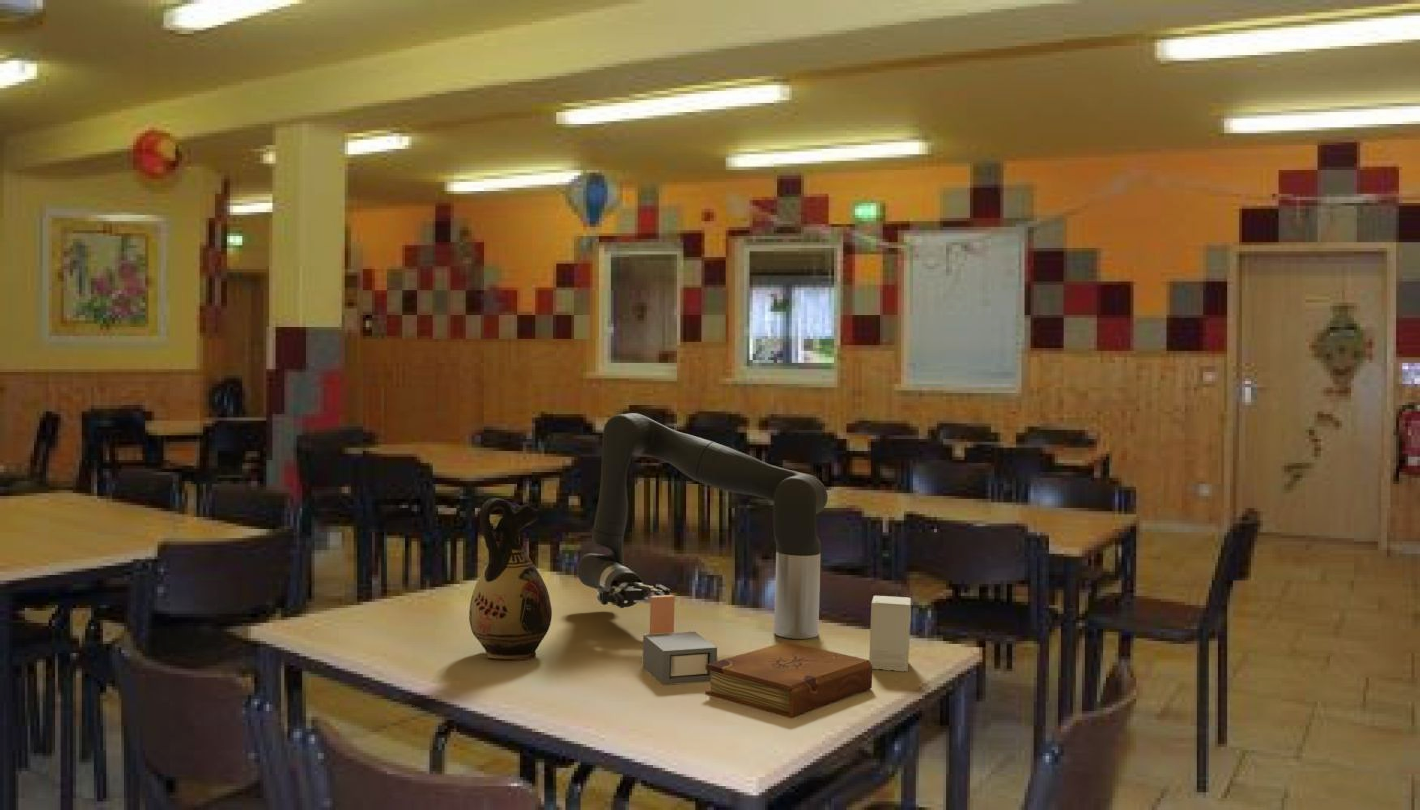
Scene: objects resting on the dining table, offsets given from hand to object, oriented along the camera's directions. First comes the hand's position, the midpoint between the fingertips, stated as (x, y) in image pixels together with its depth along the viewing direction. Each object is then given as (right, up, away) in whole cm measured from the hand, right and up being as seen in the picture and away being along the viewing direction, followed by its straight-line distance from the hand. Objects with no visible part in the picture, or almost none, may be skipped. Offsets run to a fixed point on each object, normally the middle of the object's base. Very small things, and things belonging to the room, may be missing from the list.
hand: (643, 602), depth 231 cm
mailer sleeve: (+8, -10, -20) cm, 23 cm away
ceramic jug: (-25, -8, -10) cm, 29 cm away
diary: (+27, -11, -29) cm, 41 cm away
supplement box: (+47, -10, -11) cm, 49 cm away
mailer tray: (+7, -9, -17) cm, 21 cm away
